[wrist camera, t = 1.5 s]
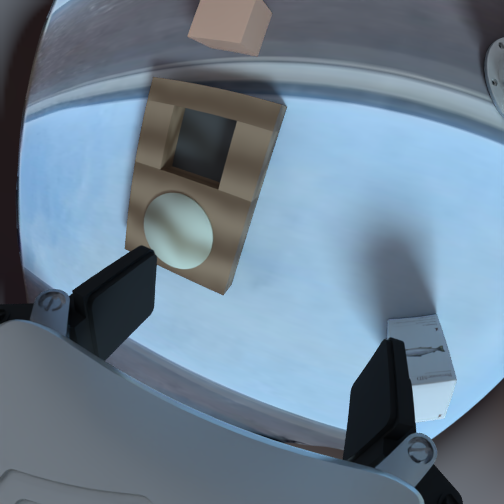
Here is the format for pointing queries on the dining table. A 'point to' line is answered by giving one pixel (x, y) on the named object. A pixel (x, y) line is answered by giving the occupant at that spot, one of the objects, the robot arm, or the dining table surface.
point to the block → (231, 25)
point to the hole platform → (199, 177)
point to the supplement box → (426, 364)
